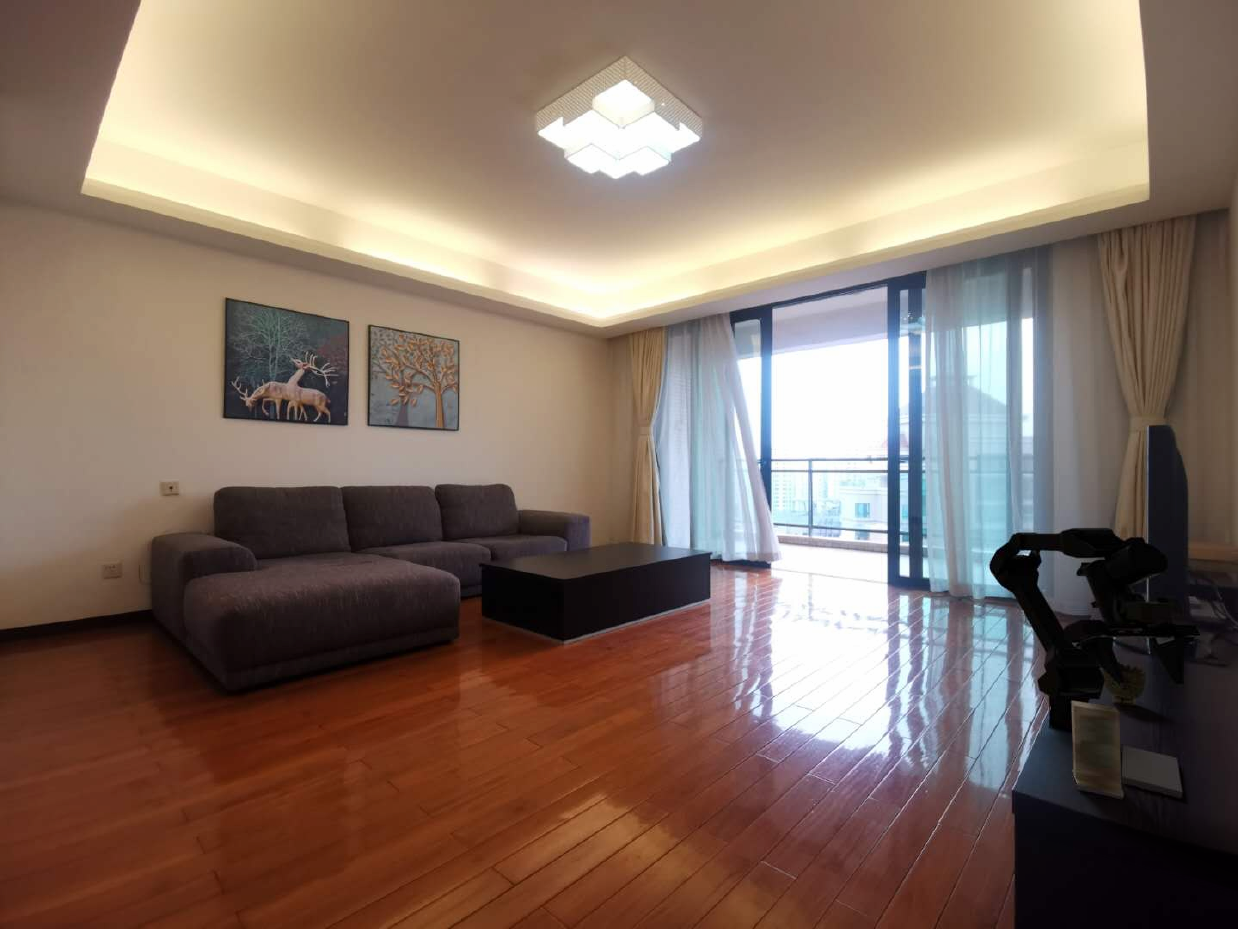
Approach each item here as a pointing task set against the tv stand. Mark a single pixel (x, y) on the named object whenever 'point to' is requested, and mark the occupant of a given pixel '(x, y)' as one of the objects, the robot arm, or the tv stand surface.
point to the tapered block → (1096, 747)
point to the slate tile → (1150, 770)
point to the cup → (1126, 684)
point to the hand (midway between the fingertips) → (1150, 684)
